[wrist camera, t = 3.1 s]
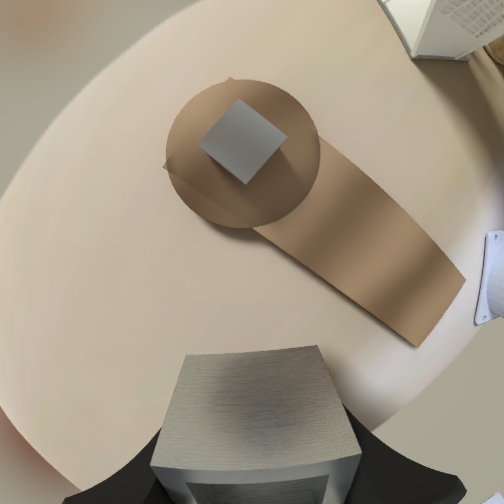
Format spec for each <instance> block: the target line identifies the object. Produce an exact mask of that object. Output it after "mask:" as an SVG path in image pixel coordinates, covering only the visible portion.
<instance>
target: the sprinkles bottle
mask: <svg viewBox="0 0 504 504" xmlns="http://www.w3.org/2000/svg"><path fill="white" fill-rule="evenodd" d="M484 47H485V49H486V50H487V52H488V53H489V54H490V55H491V56H492V58H493V59H495V60H496V61H497V62H498V63H500V64H502V65H504V35H502V36H501V37H499V38H497V39H495V40H494V41H492V42H490V43H488V44H486V45H484Z"/></svg>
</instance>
